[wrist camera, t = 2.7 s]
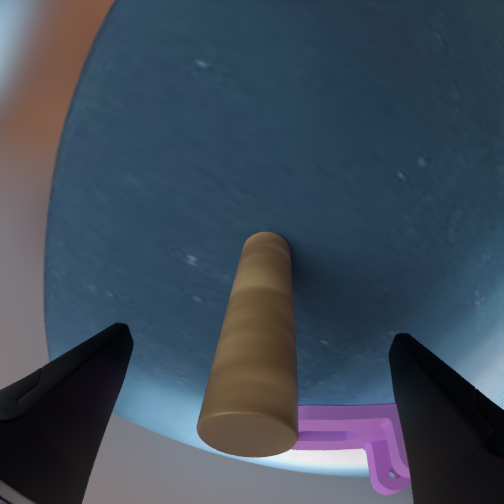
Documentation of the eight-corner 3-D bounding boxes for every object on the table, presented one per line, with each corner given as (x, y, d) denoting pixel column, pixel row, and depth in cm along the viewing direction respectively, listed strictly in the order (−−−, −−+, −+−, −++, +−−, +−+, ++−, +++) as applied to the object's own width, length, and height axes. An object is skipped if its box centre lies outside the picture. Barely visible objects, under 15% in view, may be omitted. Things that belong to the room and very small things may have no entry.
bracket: (422, 401, 20) (443, 465, 13) (396, 433, 22) (409, 491, 16) (276, 403, 20) (271, 483, 14) (267, 435, 22) (262, 502, 16)
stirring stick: (299, 248, 14) (320, 434, 6) (271, 282, 15) (259, 465, 6) (260, 221, 14) (228, 399, 5) (233, 257, 15) (180, 436, 6)
